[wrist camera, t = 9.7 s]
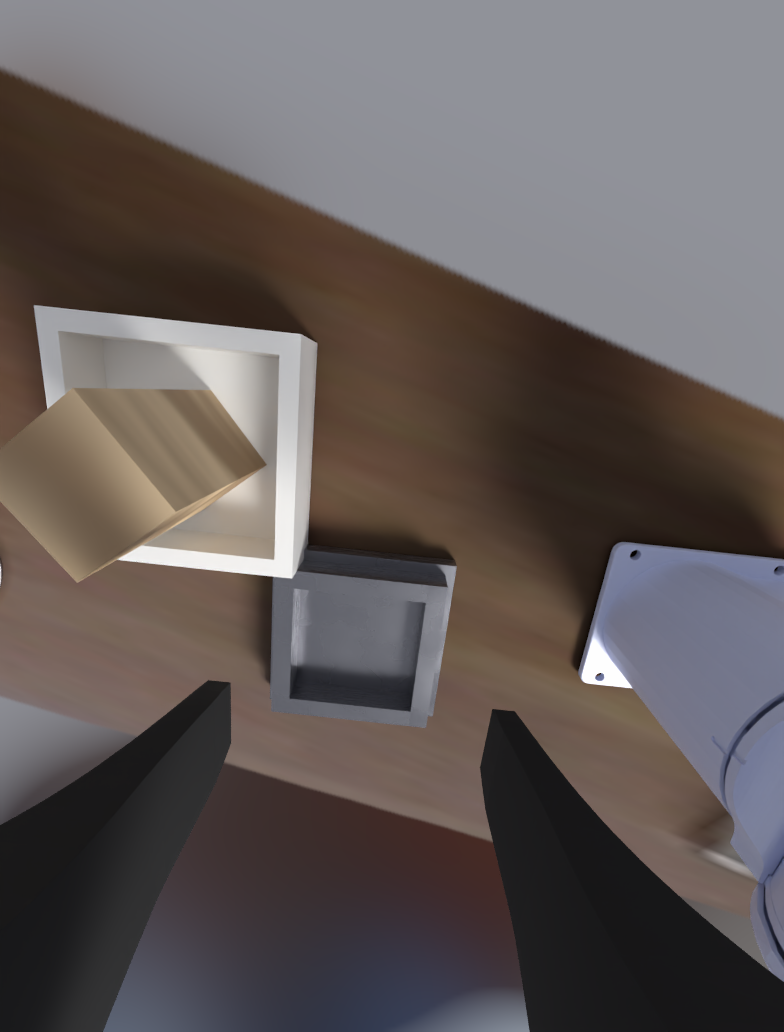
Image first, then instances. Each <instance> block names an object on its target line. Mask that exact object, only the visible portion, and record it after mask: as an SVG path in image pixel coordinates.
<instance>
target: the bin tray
mask: <svg viewBox="0 0 784 1032" xmlns="http://www.w3.org/2000/svg"><path fill="white" fill-rule="evenodd" d="M34 311H35V318H36V326H37V334H38V341H39V349H40V356H41V364H42V372H43V379H44V387H45V395H46V402H47V409H48V408H49V407H51V406H52V405H53V404H54V403H55V402H56V401H58V400H59V399H60V398H61V397H62V396H64V395H65V394H66V393H67V392H68V391H70V390H71V389H72V388H109V389H172V390H211V391H212V392H213V393H214V395H215V396H216V397H217V399H218V400H219V401H220V403H221V404H222V405H223V407H224V408H225V409H226V411H227V412H228V413H229V415H230V416H231V417H232V419H233V420H234V421H235V423H236V424H237V425H238V427H239V428H240V429H241V431H242V432H243V433H244V435H245V436H246V437H247V439H248V440H249V441H250V443H251V444H252V445H253V447H254V448H255V449H256V451H257V452H258V453H259V455H260V456H261V457H262V459H263V460H264V461H265V463H266V464H267V465H266V466H265V467H263V468H262V469H260V470H259V471H257V472H256V473H255V474H253V475H252V476H250V477H249V478H248V479H246V480H245V481H243V482H242V483H240V484H239V485H238V486H236V487H235V488H233V489H232V490H230V491H229V492H228V493H226V494H225V495H223V496H222V497H221V498H219V499H218V500H216V501H215V502H213V503H212V504H211V505H209V506H208V507H206V508H205V509H204V510H202V511H200V512H199V513H197V514H195V515H193V516H192V517H190V518H188V519H186V520H185V521H183V522H181V523H180V524H178V525H176V526H174V527H173V528H171V529H169V530H167V531H166V532H164V533H162V534H161V535H159V536H157V537H155V538H154V539H152V540H150V541H148V542H147V543H145V544H143V545H141V546H140V547H138V548H136V549H135V550H133V551H131V552H129V553H128V554H126V555H124V556H122V557H121V558H119V559H117V560H124V561H133V562H143V563H152V564H161V565H171V566H180V567H189V568H198V569H208V570H217V571H226V572H235V573H245V574H254V575H263V576H272V577H282V578H291V579H292V578H293V576H294V575H295V573H296V571H297V570H298V568H299V566H300V565H301V563H302V561H303V560H304V549H305V548H306V546H307V545H308V530H309V509H310V489H311V468H312V447H313V427H314V406H315V385H316V365H317V344H318V343H316V342H314V341H312V340H311V339H309V338H307V337H305V336H304V335H302V334H295V333H286V332H277V331H267V330H258V329H249V328H240V327H231V326H221V325H212V324H203V323H194V322H185V321H175V320H166V319H157V318H148V317H139V316H129V315H120V314H111V313H102V312H93V311H83V310H74V309H65V308H56V307H46V306H37V305H34Z"/></svg>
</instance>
